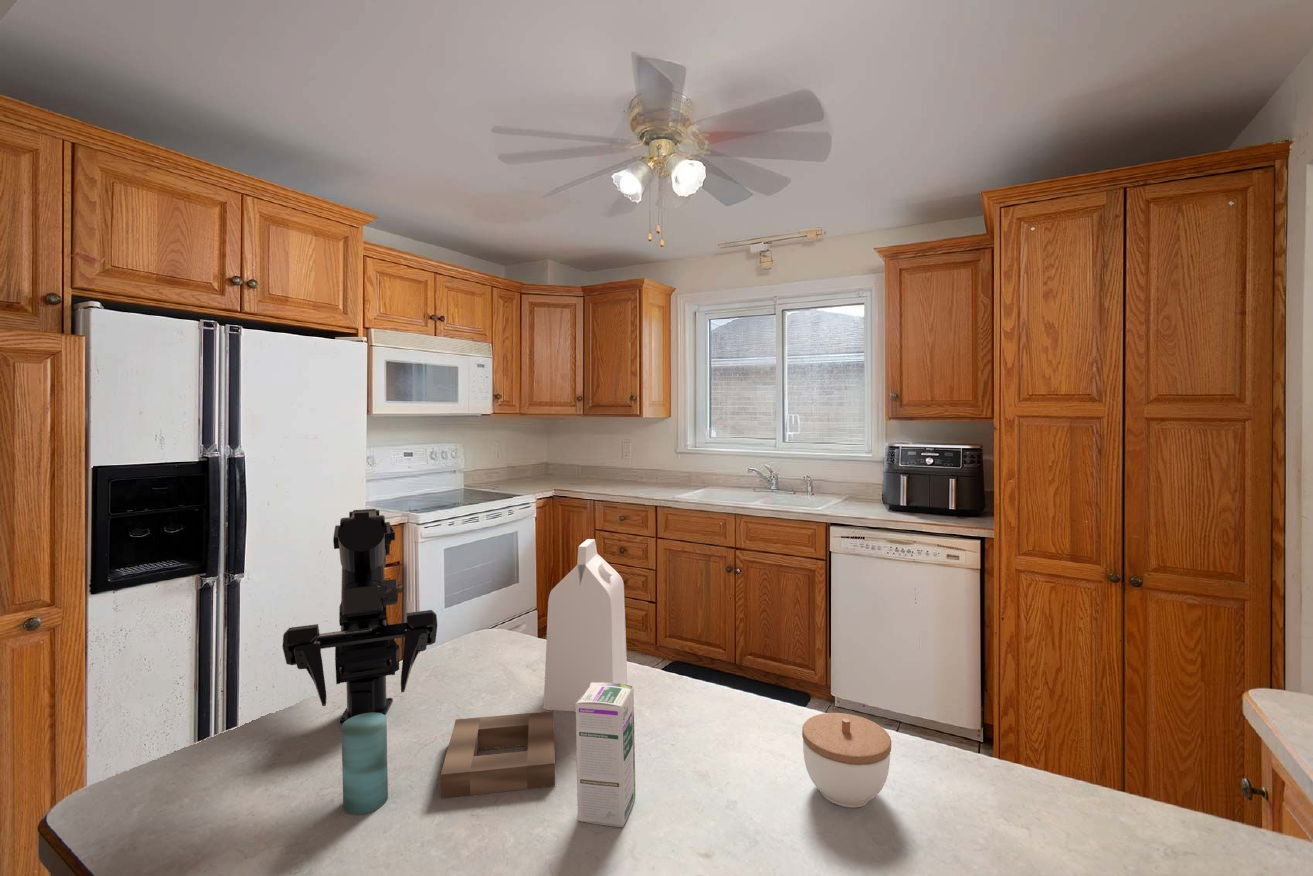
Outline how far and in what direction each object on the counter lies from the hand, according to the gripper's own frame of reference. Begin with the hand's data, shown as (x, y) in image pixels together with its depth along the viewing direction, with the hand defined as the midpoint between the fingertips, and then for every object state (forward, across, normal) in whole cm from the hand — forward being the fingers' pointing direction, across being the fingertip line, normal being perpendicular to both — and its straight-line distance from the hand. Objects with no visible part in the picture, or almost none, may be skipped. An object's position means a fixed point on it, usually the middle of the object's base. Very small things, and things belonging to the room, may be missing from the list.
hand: (364, 697), depth 80 cm
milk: (0, +34, +16) cm, 38 cm away
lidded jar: (+28, +55, -11) cm, 63 cm away
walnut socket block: (+10, +17, +6) cm, 20 cm away
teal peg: (+11, 0, +5) cm, 12 cm away
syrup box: (+21, +26, -5) cm, 34 cm away
